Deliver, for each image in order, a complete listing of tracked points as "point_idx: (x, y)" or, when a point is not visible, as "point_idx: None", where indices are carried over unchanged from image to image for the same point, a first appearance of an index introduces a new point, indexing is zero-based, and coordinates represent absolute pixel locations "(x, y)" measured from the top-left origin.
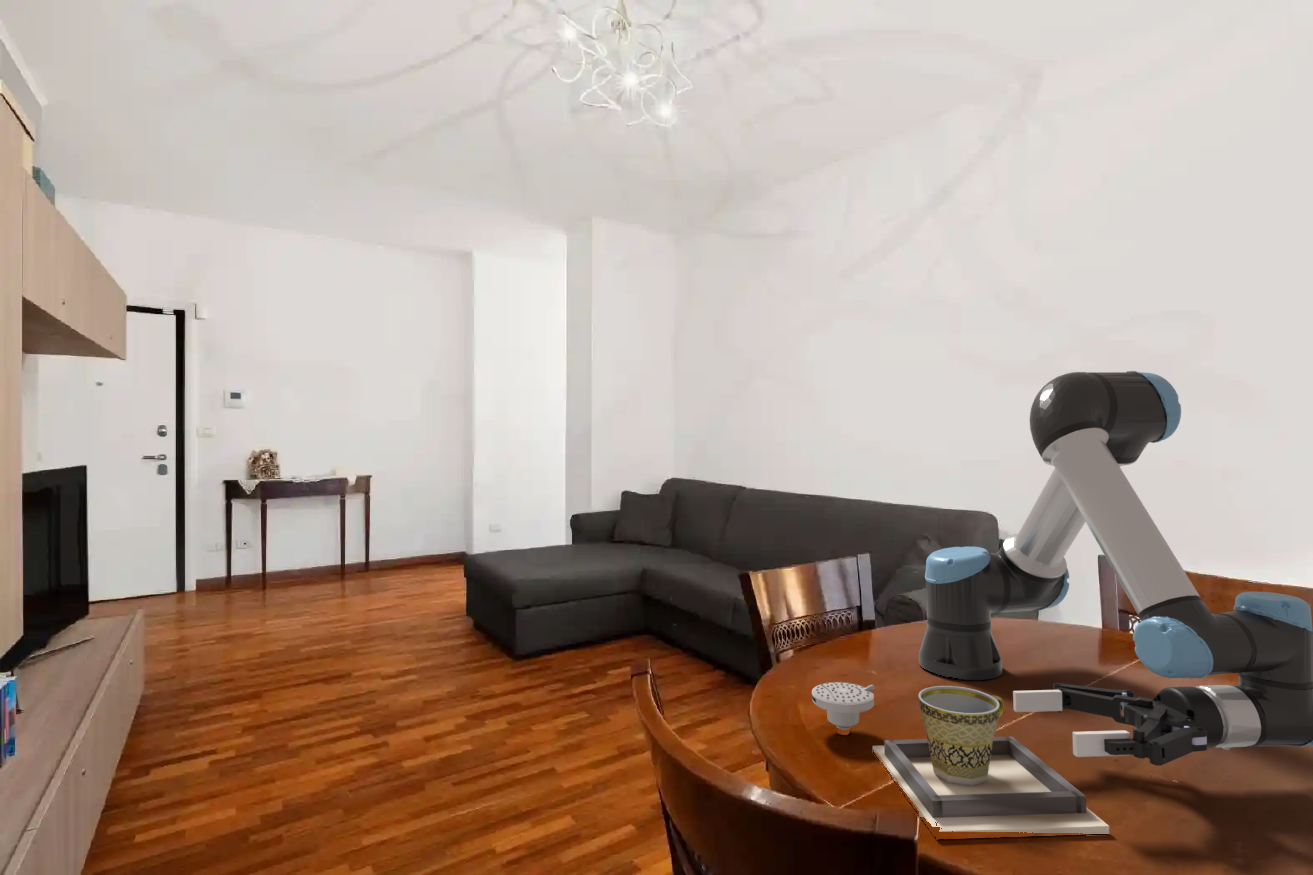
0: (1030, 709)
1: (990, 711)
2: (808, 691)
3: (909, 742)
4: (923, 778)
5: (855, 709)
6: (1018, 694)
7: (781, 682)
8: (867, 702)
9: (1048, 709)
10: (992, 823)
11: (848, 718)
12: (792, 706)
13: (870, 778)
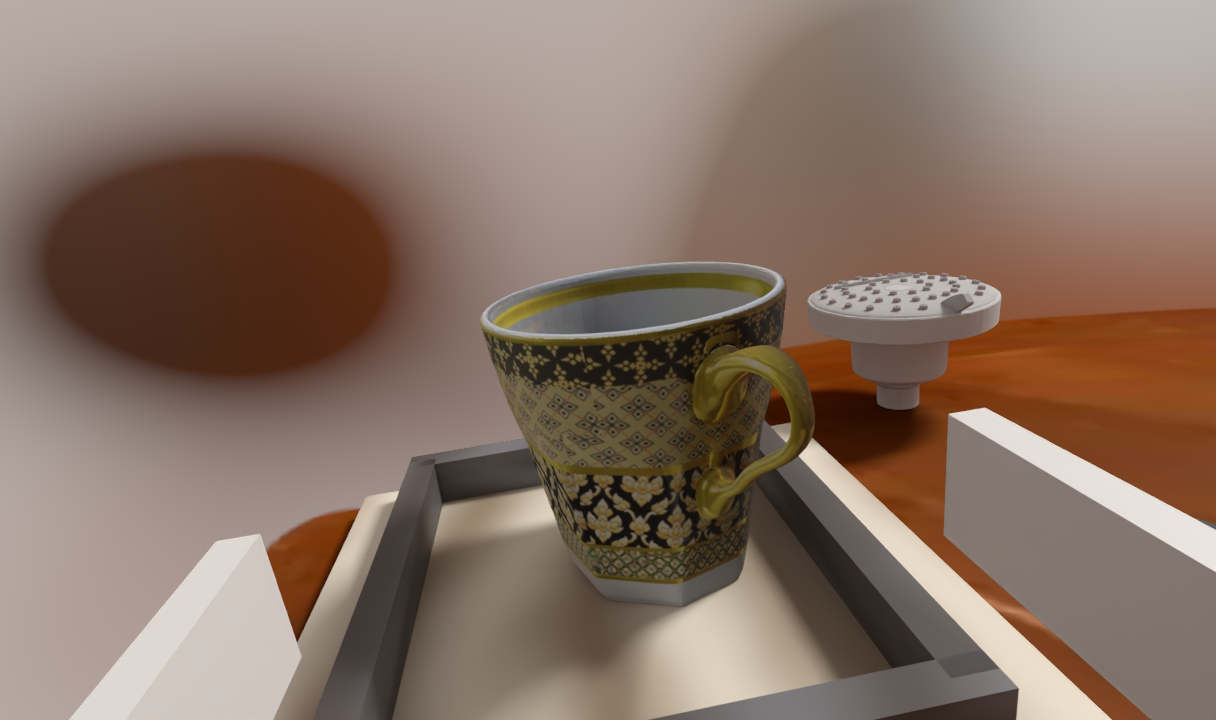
0: (1018, 584)
1: (497, 329)
2: (1163, 347)
3: None
4: (524, 448)
5: (822, 325)
6: (962, 434)
7: (1174, 319)
8: (856, 319)
9: (1152, 704)
10: (357, 582)
11: (858, 356)
12: (1008, 345)
13: None
